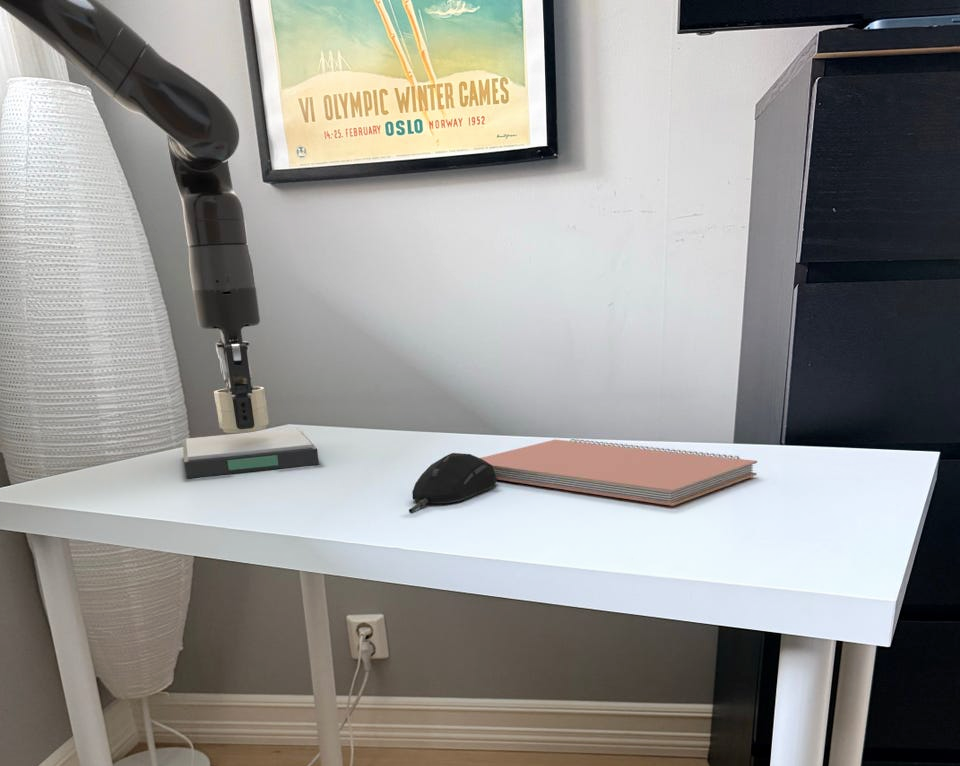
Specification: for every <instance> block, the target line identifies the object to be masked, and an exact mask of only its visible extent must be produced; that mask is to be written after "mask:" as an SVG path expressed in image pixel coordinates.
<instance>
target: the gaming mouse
mask: <svg viewBox="0 0 960 766" xmlns="http://www.w3.org/2000/svg"><path fill="white" fill-rule="evenodd" d="M481 458H482V457H478V456H476V455H473V454H471V453H460V452H451V453H449V454H447V455H444V456H443V457H441V458H440V459H438V460H437V461H435V462H433V463H431V465H429V466H428V467H427V468H426V469H425V471H424V472H423V473H422V474H420V476H419V477H418V479H417V480H416V482H415V483H414V485H413V489H412V491H411V494H412V500H414V501H417V503H416V504H415V505H414V506H412V507H410V508H409V509H408V512H409V513H411V514H412V513H413V512H414V511H416V510H418V509H420V508H423V507H425V506H426V505H428V504H451V503H452V504H453V503H457V502H461V501H463V500H466V499H468V498H471V497H473V496H475V495H478V494H481V493H483V492H486V491H488V490H489V489H492V488H493V487H494V486H495V484H496V483H497V481H498V479H497V477H496V474H495V471H494V469H493V466H492V465H491V464H489V463H487V462H486V461H484V460H483V459H481Z"/></svg>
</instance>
